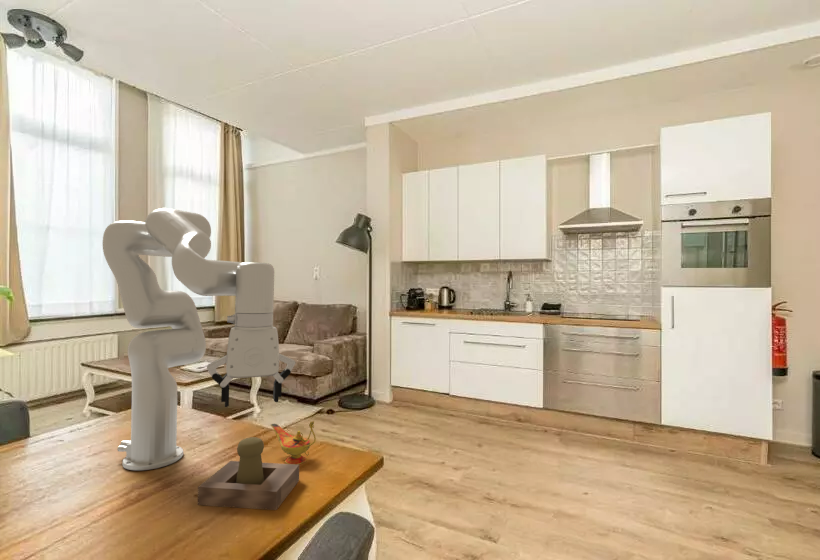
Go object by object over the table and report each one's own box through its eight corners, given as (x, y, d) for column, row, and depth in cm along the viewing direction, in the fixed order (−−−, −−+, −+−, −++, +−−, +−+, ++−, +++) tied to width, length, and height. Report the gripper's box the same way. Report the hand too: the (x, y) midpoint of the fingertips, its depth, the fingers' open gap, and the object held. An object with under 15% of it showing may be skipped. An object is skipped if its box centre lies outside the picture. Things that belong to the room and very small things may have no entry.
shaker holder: (197, 504, 80) (197, 486, 80) (230, 476, 92) (230, 460, 92) (276, 510, 79) (276, 491, 79) (299, 480, 91) (299, 464, 91)
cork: (254, 501, 82) (255, 446, 82) (227, 497, 83) (228, 443, 83) (270, 486, 88) (271, 435, 88) (245, 483, 89) (246, 433, 89)
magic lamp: (282, 445, 110) (283, 404, 110) (326, 463, 99) (327, 418, 99) (259, 453, 105) (260, 410, 105) (303, 473, 94) (303, 425, 94)
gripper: (207, 323, 79) (204, 412, 79) (299, 322, 86) (296, 403, 86) (208, 320, 86) (206, 401, 86) (293, 319, 93) (291, 394, 93)
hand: (251, 402), depth 86 cm, fingers open, 9 cm apart
